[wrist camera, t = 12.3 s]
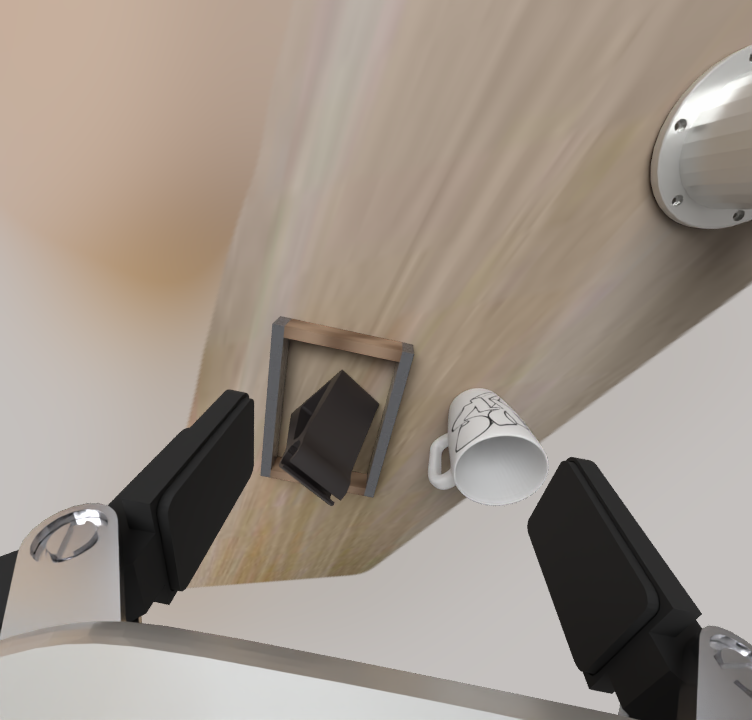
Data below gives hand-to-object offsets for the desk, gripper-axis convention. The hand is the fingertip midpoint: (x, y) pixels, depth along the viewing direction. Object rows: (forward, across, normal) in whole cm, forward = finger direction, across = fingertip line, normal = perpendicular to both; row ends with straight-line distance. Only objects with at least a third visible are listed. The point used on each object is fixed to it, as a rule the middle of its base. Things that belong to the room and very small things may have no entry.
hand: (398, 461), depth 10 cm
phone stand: (+25, +5, +16) cm, 30 cm away
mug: (+26, -10, +14) cm, 31 cm away
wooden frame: (+25, +5, +16) cm, 30 cm away
